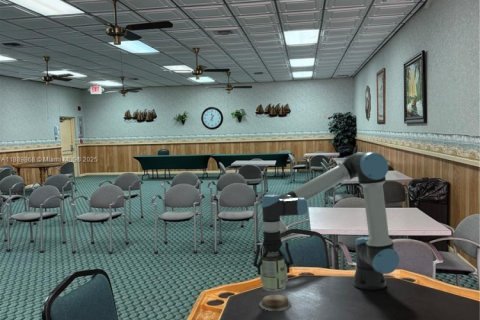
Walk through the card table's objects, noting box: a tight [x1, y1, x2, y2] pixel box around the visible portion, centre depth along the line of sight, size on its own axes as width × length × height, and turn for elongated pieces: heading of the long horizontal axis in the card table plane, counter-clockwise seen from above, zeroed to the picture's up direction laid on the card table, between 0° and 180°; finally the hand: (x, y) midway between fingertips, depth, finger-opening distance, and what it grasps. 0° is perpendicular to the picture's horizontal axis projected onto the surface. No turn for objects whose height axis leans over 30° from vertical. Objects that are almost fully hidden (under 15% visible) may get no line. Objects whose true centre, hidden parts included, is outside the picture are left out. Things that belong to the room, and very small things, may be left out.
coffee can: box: [260, 252, 287, 292], centre depth 190 cm, size 10×10×14 cm
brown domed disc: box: [258, 294, 292, 312], centre depth 191 cm, size 14×14×3 cm
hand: (273, 281), depth 190 cm, fingers closed on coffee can, 10 cm apart
